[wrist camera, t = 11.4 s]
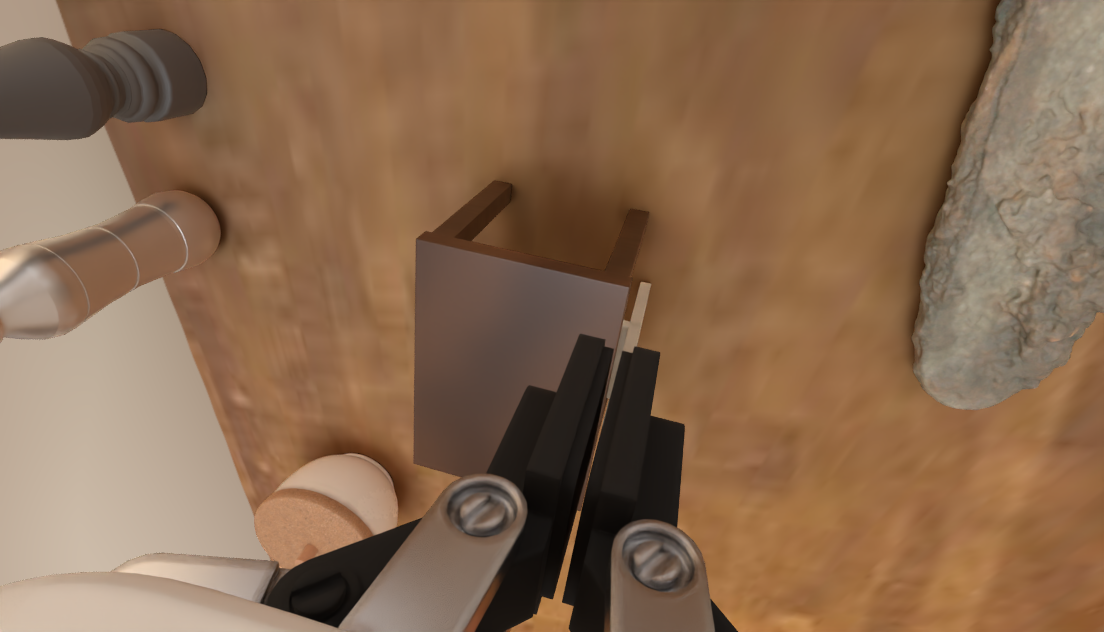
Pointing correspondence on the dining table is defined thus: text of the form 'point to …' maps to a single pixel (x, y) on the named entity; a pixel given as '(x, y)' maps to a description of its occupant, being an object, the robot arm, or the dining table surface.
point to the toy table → (501, 330)
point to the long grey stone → (1019, 212)
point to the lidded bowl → (326, 508)
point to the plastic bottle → (101, 263)
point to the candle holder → (96, 84)
